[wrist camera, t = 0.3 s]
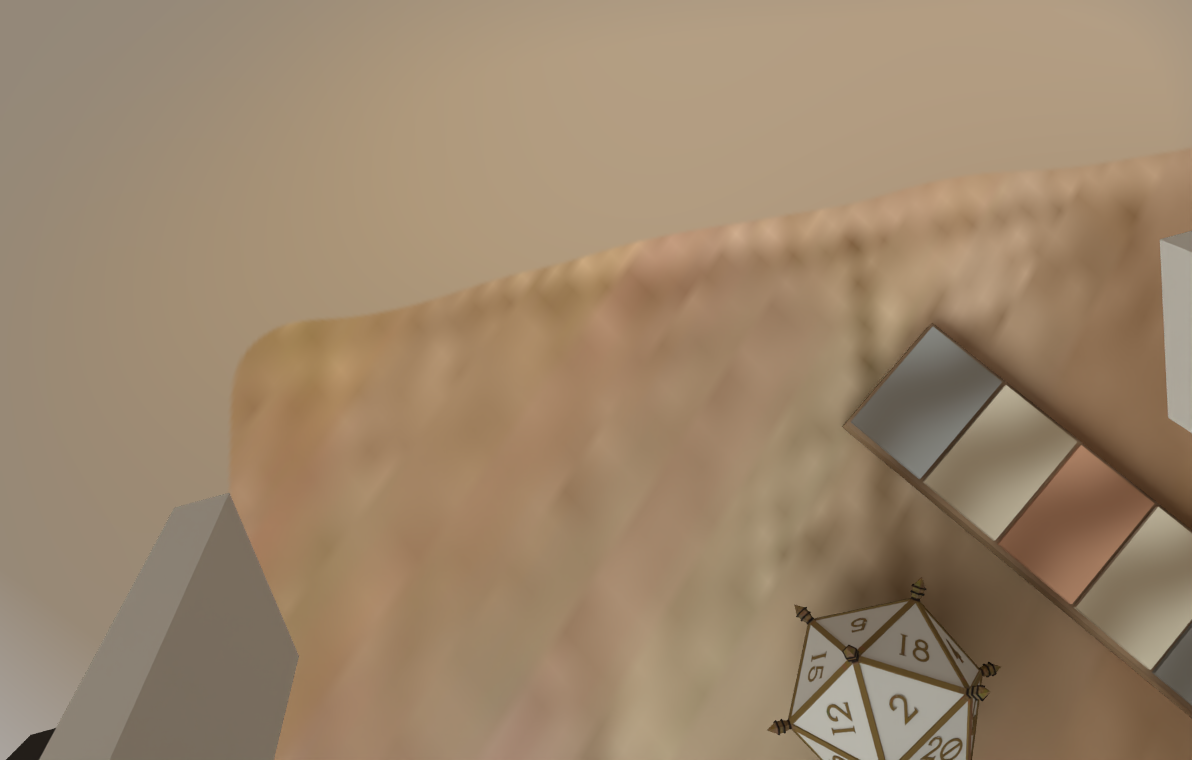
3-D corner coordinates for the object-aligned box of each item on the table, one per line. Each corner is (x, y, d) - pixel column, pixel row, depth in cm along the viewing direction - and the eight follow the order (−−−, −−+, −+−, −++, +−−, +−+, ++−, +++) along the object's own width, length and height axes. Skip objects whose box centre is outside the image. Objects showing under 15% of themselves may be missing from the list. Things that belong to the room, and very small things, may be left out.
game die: (887, 651, 51) (1078, 631, 43) (855, 839, 46) (1060, 856, 39) (744, 569, 47) (922, 530, 39) (696, 763, 43) (884, 765, 35)
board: (1383, 693, 45) (1404, 697, 44) (1296, 805, 45) (1314, 812, 44) (927, 327, 49) (933, 321, 48) (842, 426, 49) (846, 423, 47)
